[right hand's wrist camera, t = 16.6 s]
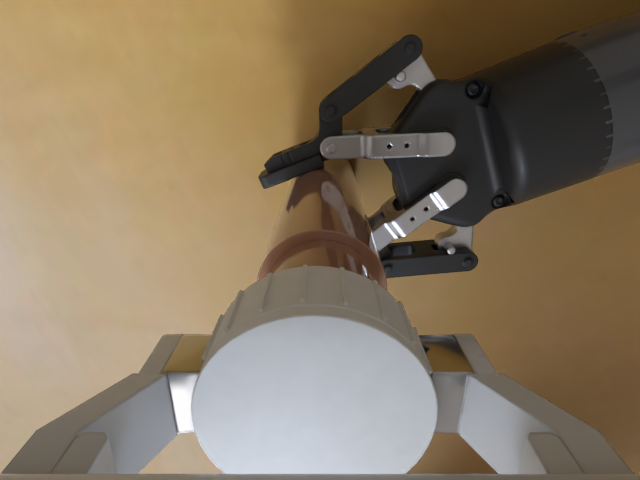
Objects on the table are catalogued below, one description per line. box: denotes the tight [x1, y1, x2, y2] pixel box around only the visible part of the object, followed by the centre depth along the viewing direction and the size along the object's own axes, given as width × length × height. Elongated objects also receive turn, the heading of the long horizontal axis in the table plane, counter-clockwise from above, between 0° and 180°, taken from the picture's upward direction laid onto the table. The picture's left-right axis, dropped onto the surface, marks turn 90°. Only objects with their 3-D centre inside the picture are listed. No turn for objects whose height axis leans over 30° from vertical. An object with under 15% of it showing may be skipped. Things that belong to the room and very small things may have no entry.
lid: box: [191, 264, 438, 474], centre depth 10 cm, size 6×6×2 cm
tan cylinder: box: [257, 159, 387, 291], centre depth 20 cm, size 4×4×19 cm
